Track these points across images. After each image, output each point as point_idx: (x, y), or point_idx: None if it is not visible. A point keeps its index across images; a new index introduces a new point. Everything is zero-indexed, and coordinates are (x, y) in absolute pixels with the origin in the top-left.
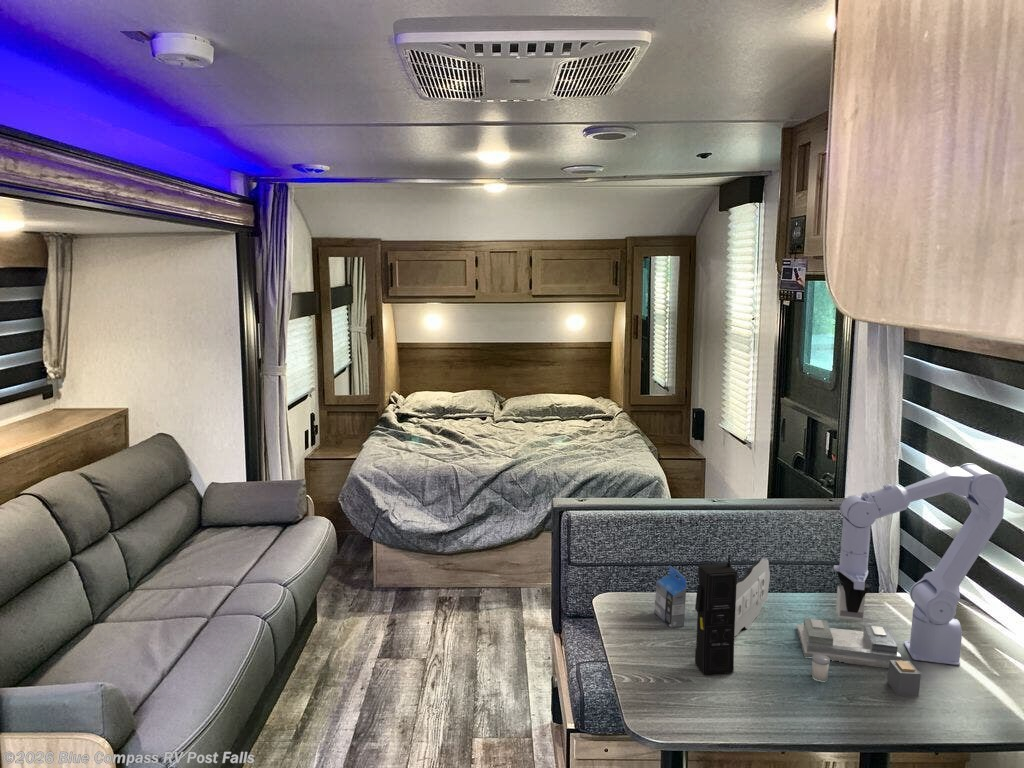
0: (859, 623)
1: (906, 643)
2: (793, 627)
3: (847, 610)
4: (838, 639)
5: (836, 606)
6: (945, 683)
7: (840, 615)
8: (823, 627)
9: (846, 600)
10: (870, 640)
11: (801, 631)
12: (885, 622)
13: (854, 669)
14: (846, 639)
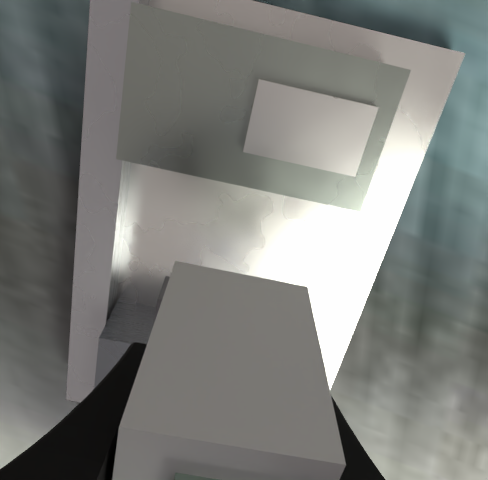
0: (457, 368)
1: None
2: (473, 35)
3: (131, 345)
4: (269, 220)
5: (299, 302)
6: (17, 443)
7: (166, 277)
8: (250, 150)
9: (80, 403)
10: (144, 342)
11: (366, 43)
12: (448, 451)
13: (38, 193)
14: (270, 257)
